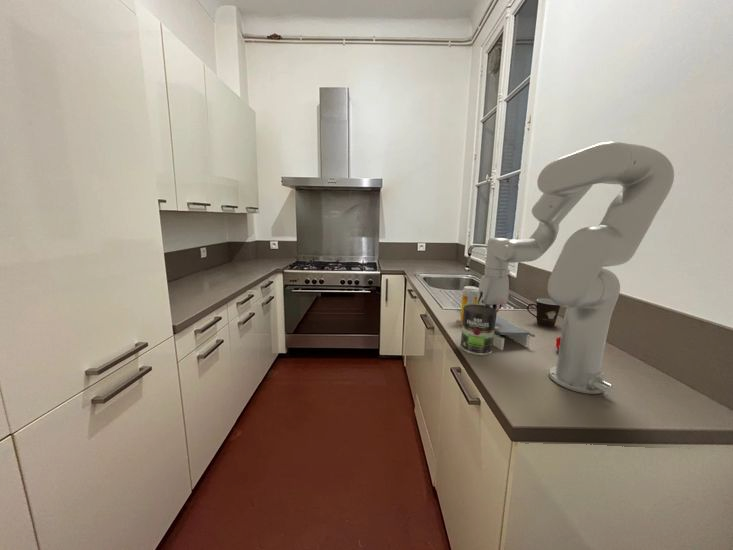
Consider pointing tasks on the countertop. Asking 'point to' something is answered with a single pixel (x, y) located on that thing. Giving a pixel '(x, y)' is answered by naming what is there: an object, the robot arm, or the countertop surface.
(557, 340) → the apple
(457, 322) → the coaster
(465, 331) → the coffee can
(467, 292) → the beer can
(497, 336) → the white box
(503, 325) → the cover
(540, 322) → the coffee mug
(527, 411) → the countertop surface
